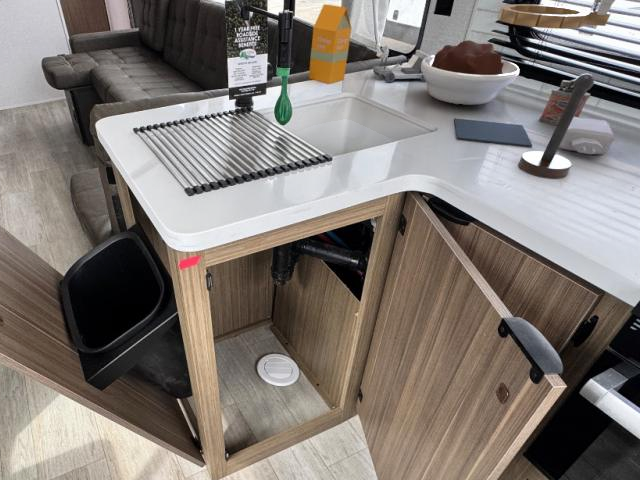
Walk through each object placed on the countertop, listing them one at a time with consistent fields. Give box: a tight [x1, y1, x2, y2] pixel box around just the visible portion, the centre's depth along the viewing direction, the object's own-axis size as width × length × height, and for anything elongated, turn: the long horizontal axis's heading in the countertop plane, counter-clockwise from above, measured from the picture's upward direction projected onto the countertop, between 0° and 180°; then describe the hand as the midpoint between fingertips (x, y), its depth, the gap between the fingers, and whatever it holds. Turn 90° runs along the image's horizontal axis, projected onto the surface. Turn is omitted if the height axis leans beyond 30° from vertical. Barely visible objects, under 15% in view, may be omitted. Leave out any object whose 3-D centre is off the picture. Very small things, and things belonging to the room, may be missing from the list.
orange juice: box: [308, 4, 352, 85], centre depth 135 cm, size 8×9×20 cm
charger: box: [558, 116, 616, 155], centre depth 96 cm, size 5×9×15 cm
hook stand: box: [517, 73, 595, 179], centre depth 84 cm, size 9×9×18 cm
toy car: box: [372, 44, 431, 84], centre depth 140 cm, size 18×10×12 cm
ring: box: [496, 3, 612, 30], centre depth 87 cm, size 19×16×2 cm
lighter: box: [538, 78, 591, 126], centre depth 108 cm, size 8×3×10 cm, turn 55°
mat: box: [453, 117, 533, 148], centre depth 105 cm, size 16×14×1 cm
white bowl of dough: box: [421, 39, 520, 106], centre depth 120 cm, size 25×25×15 cm
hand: (598, 13), depth 85 cm, fingers closed on ring, 1 cm apart
